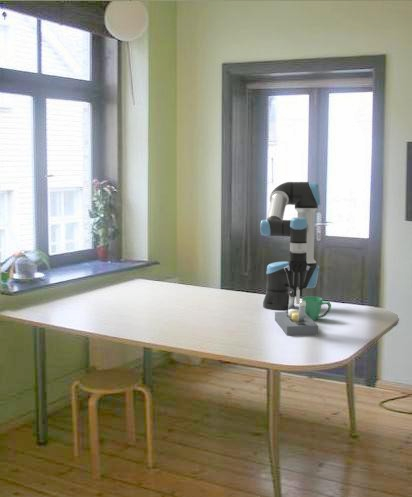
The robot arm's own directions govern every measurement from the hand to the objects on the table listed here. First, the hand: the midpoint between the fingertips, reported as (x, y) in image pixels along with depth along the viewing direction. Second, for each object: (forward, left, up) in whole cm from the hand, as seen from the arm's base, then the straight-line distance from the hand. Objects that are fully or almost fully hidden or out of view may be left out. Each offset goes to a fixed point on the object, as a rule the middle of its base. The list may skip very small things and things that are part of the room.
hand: (297, 303), depth 327 cm
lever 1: (-14, 0, -7) cm, 16 cm away
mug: (-17, +13, -12) cm, 25 cm away
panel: (-3, 0, -12) cm, 12 cm away
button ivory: (-8, 0, -8) cm, 11 cm away
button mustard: (0, 0, -8) cm, 8 cm away
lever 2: (+7, 0, -7) cm, 10 cm away
